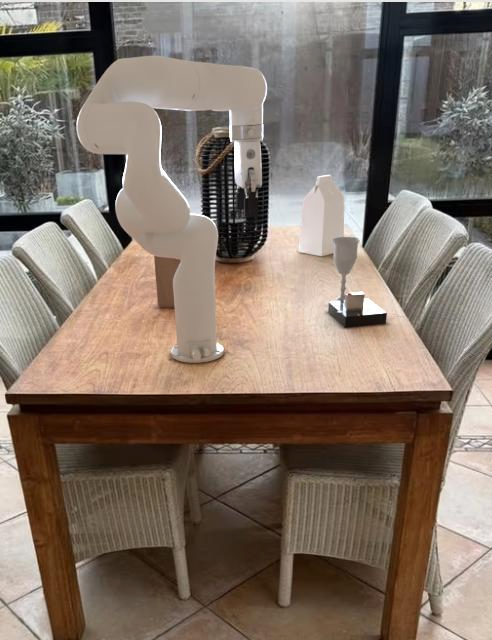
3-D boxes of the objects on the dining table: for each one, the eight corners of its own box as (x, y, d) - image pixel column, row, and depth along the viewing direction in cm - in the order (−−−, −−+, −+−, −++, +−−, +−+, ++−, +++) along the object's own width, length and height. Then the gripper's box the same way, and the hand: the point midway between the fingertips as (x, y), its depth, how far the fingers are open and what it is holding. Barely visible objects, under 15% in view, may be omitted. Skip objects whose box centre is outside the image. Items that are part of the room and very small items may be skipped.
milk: (320, 246, 252) (323, 173, 239) (343, 250, 244) (348, 174, 231) (298, 251, 246) (300, 176, 233) (321, 256, 238) (325, 178, 225)
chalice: (325, 307, 184) (329, 241, 175) (332, 301, 189) (336, 236, 180) (351, 310, 181) (356, 242, 172) (358, 303, 186) (363, 237, 177)
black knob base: (386, 324, 169) (387, 312, 167) (341, 328, 168) (342, 316, 166) (366, 309, 181) (367, 297, 179) (324, 312, 180) (325, 301, 178)
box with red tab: (360, 309, 171) (362, 290, 169) (363, 311, 170) (364, 292, 167) (343, 310, 171) (345, 292, 168) (346, 312, 169) (347, 294, 167)
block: (190, 308, 190) (186, 237, 179) (157, 308, 192) (151, 237, 181) (197, 299, 198) (194, 230, 188) (165, 299, 200) (160, 230, 190)
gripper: (271, 134, 144) (270, 217, 152) (254, 131, 159) (254, 206, 167) (237, 137, 143) (238, 219, 152) (224, 133, 158) (225, 208, 167)
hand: (247, 212), depth 159 cm, fingers open, 9 cm apart
